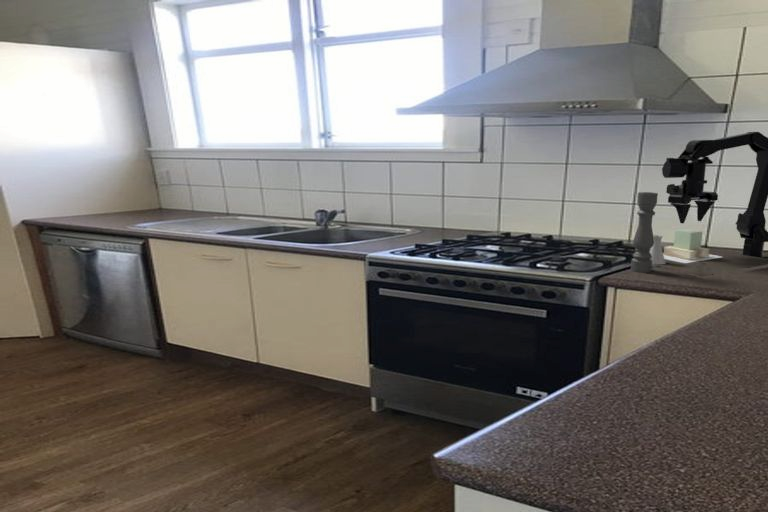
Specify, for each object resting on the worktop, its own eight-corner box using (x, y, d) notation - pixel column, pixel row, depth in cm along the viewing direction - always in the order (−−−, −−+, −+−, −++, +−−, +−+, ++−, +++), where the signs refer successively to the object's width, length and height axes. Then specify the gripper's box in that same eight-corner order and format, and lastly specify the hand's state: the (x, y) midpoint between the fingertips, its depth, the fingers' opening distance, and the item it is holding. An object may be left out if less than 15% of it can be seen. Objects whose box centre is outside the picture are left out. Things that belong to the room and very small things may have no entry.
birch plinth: (682, 252, 199) (683, 244, 199) (708, 257, 191) (709, 248, 190) (663, 255, 195) (664, 246, 195) (689, 260, 186) (690, 251, 186)
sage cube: (684, 245, 196) (686, 229, 195) (700, 248, 191) (702, 231, 190) (673, 247, 194) (675, 230, 192) (689, 250, 188) (691, 232, 187)
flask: (670, 267, 181) (673, 237, 179) (648, 267, 182) (651, 237, 180) (660, 262, 189) (663, 233, 186) (639, 262, 189) (641, 234, 187)
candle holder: (655, 270, 177) (663, 193, 172) (643, 273, 174) (650, 194, 169) (638, 267, 182) (645, 191, 177) (626, 269, 179) (632, 192, 174)
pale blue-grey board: (686, 252, 203) (686, 249, 203) (723, 259, 191) (723, 256, 191) (648, 258, 195) (648, 255, 195) (684, 266, 183) (684, 263, 183)
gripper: (690, 174, 200) (686, 217, 203) (656, 177, 192) (652, 221, 195) (721, 176, 190) (716, 221, 194) (685, 179, 182) (681, 225, 185)
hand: (690, 222), depth 192 cm, fingers open, 9 cm apart
